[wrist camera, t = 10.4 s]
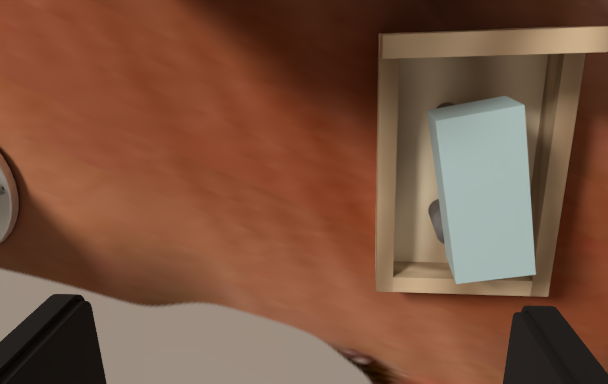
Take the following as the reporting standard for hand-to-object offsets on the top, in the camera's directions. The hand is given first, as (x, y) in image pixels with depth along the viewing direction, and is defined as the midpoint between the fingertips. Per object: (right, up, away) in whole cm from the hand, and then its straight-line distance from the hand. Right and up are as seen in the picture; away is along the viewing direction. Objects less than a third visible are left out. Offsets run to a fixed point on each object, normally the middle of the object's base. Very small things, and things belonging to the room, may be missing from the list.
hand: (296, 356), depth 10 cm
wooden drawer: (+12, +6, +24) cm, 27 cm away
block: (+11, +4, +19) cm, 22 cm away
